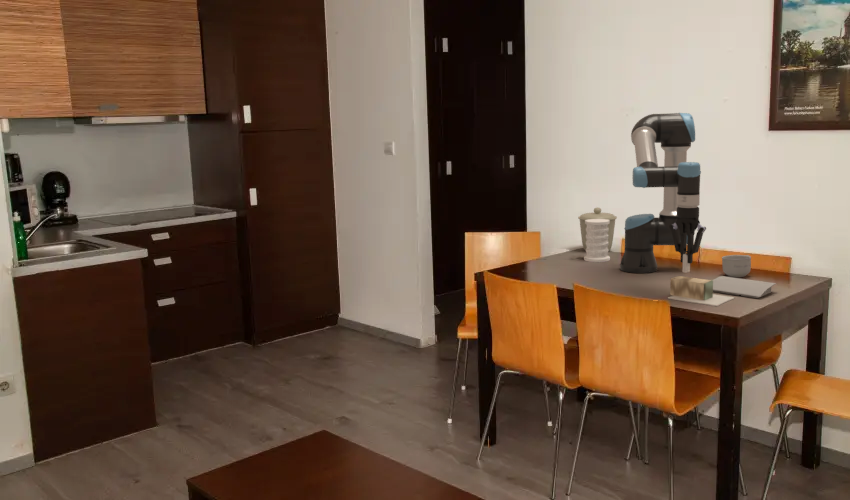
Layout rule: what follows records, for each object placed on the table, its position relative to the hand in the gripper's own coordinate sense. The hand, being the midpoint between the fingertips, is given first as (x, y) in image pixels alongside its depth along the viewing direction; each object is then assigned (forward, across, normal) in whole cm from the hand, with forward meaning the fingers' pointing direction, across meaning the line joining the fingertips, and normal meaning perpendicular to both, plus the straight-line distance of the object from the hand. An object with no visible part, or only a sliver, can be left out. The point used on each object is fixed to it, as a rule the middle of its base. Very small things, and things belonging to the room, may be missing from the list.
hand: (686, 271), depth 268 cm
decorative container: (+9, -62, +40) cm, 75 cm away
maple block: (+6, -4, 0) cm, 7 cm away
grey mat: (+9, +6, 0) cm, 11 cm away
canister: (+9, -75, +59) cm, 95 cm away
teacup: (+9, 0, +44) cm, 45 cm away
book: (+10, +12, +19) cm, 24 cm away
